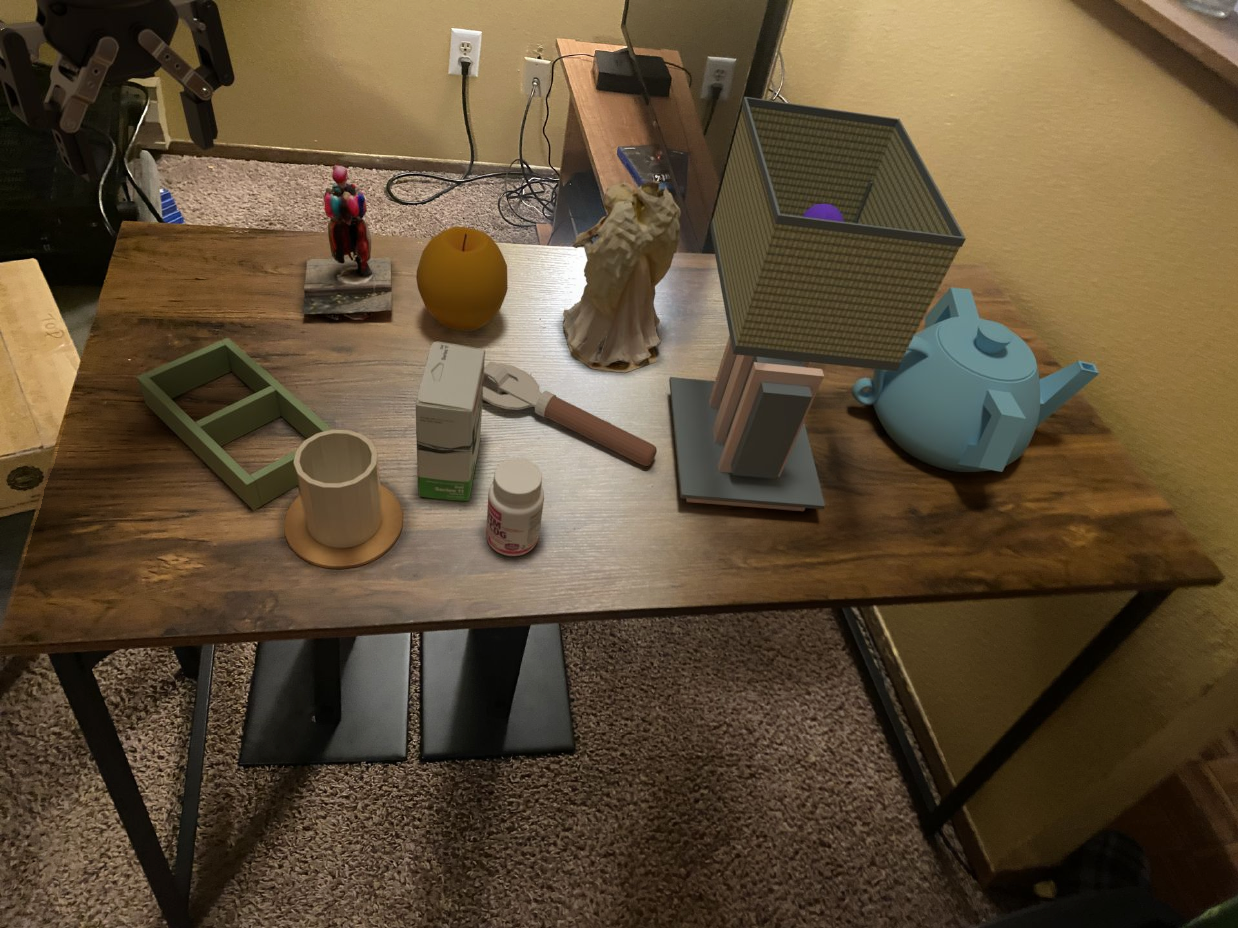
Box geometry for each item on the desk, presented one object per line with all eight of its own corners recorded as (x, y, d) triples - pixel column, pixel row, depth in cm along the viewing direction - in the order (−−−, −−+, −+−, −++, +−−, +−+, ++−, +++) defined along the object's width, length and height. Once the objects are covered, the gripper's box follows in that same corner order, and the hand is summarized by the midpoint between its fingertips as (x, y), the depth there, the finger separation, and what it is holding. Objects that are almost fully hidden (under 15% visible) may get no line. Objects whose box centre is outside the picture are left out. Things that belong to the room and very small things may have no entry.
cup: (317, 557, 70) (306, 496, 65) (297, 503, 74) (285, 440, 68) (392, 534, 73) (387, 474, 67) (369, 483, 77) (363, 421, 71)
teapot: (961, 511, 86) (1028, 415, 76) (822, 402, 95) (866, 303, 85) (1049, 441, 96) (1119, 348, 86) (916, 348, 105) (966, 254, 95)
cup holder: (342, 460, 78) (338, 434, 76) (253, 510, 73) (246, 484, 71) (234, 364, 85) (228, 337, 82) (145, 404, 80) (135, 376, 77)
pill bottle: (475, 544, 74) (478, 482, 68) (501, 508, 77) (506, 446, 71) (523, 565, 73) (530, 504, 67) (547, 528, 77) (556, 467, 71)
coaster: (302, 584, 69) (301, 581, 69) (271, 498, 74) (271, 495, 74) (419, 547, 73) (419, 544, 73) (382, 468, 79) (382, 465, 78)
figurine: (567, 300, 101) (588, 142, 86) (662, 318, 101) (698, 164, 87) (551, 363, 92) (571, 200, 78) (655, 382, 93) (693, 224, 78)
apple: (431, 357, 90) (429, 265, 82) (407, 303, 96) (403, 212, 87) (516, 343, 94) (523, 254, 85) (488, 292, 99) (492, 204, 91)
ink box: (470, 503, 77) (473, 411, 69) (416, 497, 77) (412, 404, 68) (482, 437, 83) (486, 344, 75) (432, 430, 83) (431, 337, 74)
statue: (309, 274, 99) (290, 146, 89) (391, 273, 101) (382, 149, 91) (303, 322, 91) (281, 188, 81) (392, 321, 93) (381, 190, 83)
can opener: (666, 438, 87) (671, 418, 85) (646, 476, 83) (651, 455, 81) (490, 369, 90) (491, 347, 88) (463, 402, 86) (463, 380, 84)
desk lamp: (818, 528, 82) (969, 239, 58) (677, 517, 80) (774, 214, 56) (788, 400, 94) (902, 119, 70) (665, 388, 92) (740, 96, 69)
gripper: (-26, -62, 44) (73, 213, 56) (225, -88, 52) (265, 156, 64) (-88, -106, 47) (19, 165, 58) (160, -124, 55) (210, 116, 67)
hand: (148, 160), depth 61 cm, fingers open, 8 cm apart
